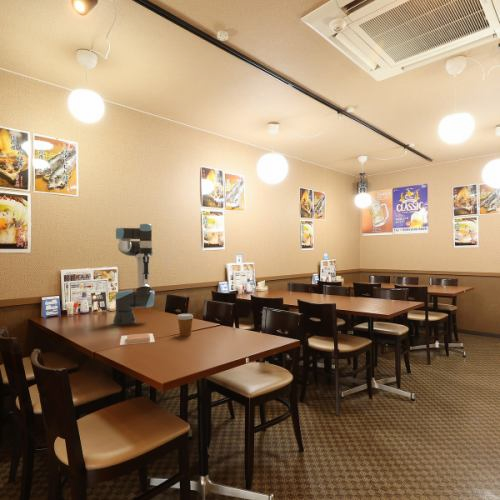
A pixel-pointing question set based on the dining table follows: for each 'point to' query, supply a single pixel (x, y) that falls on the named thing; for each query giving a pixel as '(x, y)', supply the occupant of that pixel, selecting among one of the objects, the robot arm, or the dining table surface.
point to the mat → (124, 342)
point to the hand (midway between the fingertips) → (146, 284)
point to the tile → (138, 338)
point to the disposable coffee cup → (185, 324)
